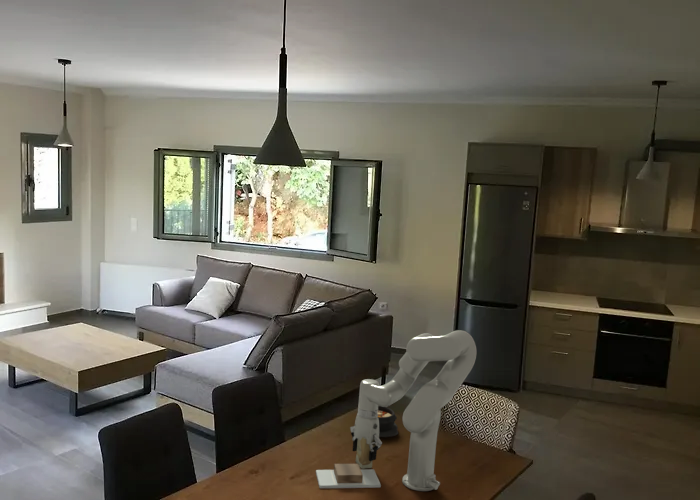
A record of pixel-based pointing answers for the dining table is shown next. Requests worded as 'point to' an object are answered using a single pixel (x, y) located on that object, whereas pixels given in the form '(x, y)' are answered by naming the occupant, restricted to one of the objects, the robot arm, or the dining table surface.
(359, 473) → the walnut plinth
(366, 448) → the skincare box
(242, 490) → the dining table surface
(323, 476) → the white board
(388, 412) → the casserole
